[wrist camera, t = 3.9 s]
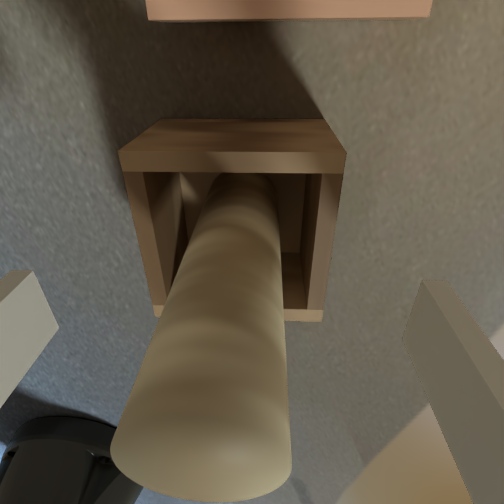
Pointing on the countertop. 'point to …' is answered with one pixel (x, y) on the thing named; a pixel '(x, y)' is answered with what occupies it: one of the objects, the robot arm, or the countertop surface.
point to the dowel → (216, 360)
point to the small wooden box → (237, 161)
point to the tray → (285, 10)
